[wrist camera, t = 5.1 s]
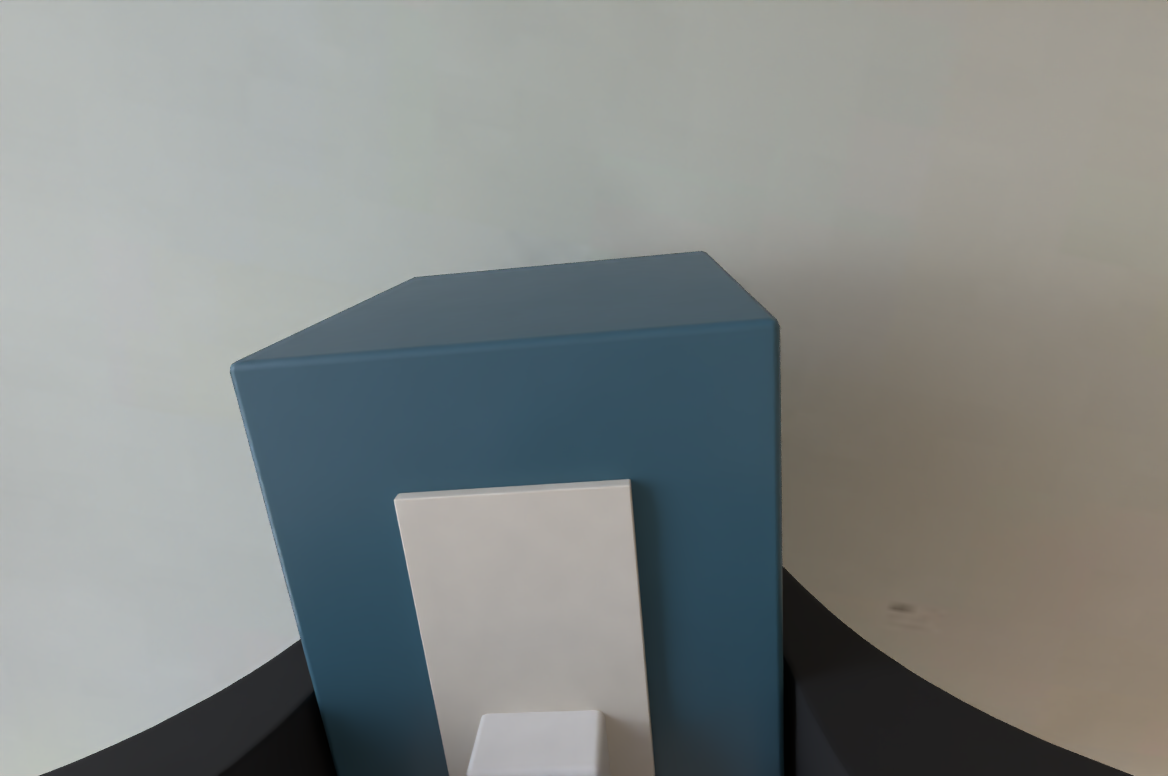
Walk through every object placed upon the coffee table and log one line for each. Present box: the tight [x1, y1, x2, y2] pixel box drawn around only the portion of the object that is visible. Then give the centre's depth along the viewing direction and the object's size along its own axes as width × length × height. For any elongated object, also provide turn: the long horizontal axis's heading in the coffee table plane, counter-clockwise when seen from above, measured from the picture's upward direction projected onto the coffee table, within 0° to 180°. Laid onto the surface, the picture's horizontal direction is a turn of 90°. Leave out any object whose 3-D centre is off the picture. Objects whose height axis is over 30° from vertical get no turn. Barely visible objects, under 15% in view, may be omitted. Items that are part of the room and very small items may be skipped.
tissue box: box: [230, 251, 784, 776], centre depth 10 cm, size 12×5×7 cm, turn 5°
